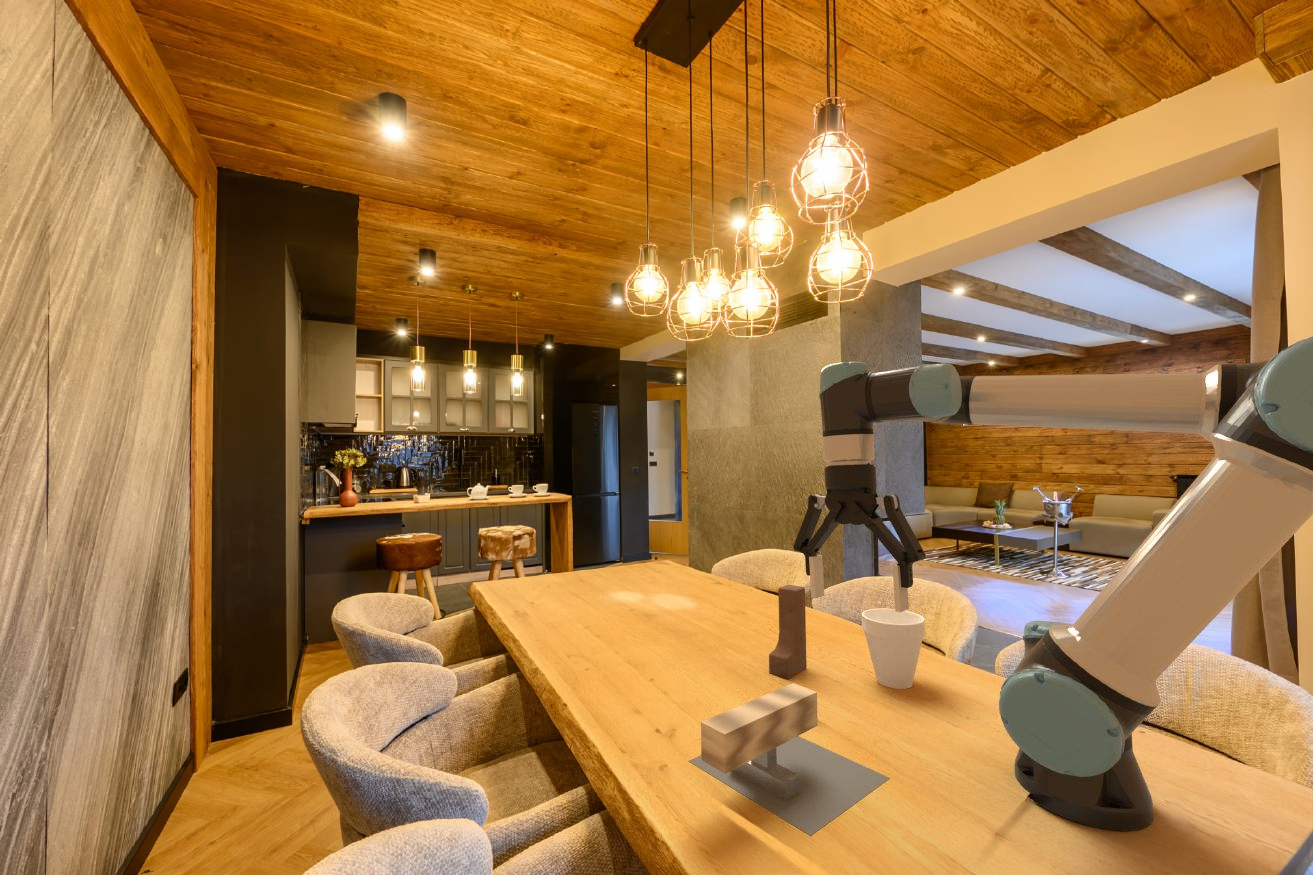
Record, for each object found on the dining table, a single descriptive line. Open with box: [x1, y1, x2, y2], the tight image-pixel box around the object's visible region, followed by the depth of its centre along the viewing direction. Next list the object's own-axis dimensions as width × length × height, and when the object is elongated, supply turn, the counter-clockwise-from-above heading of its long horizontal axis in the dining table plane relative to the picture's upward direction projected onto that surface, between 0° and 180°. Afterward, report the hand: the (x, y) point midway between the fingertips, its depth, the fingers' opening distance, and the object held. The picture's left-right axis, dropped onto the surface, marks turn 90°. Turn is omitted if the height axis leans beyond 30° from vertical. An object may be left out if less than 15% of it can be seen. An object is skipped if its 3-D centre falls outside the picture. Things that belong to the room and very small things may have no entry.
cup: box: [861, 607, 927, 690], centre depth 116 cm, size 12×12×14 cm
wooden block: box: [768, 584, 808, 680], centre depth 123 cm, size 9×4×18 cm, turn 137°
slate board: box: [688, 735, 891, 837], centre depth 82 cm, size 22×19×1 cm
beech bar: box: [700, 682, 819, 774], centre depth 80 cm, size 20×4×5 cm, turn 129°
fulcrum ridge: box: [732, 748, 800, 802], centre depth 79 cm, size 10×3×6 cm, turn 39°
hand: (857, 603), depth 85 cm, fingers open, 13 cm apart
